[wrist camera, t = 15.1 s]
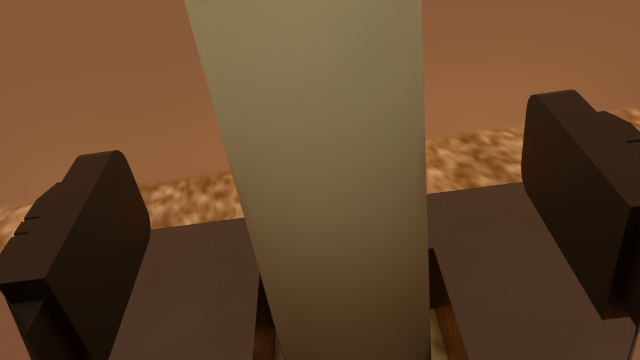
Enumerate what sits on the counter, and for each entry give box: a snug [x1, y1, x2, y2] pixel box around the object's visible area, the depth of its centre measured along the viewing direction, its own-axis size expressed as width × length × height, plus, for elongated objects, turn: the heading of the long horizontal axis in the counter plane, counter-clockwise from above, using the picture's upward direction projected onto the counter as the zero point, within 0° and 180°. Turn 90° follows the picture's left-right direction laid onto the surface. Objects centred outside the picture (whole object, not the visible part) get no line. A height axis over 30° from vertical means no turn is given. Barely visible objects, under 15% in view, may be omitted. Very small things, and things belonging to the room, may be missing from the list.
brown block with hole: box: [109, 182, 636, 360], centre depth 17 cm, size 22×12×3 cm, turn 92°
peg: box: [184, 0, 431, 360], centre depth 14 cm, size 4×4×14 cm
